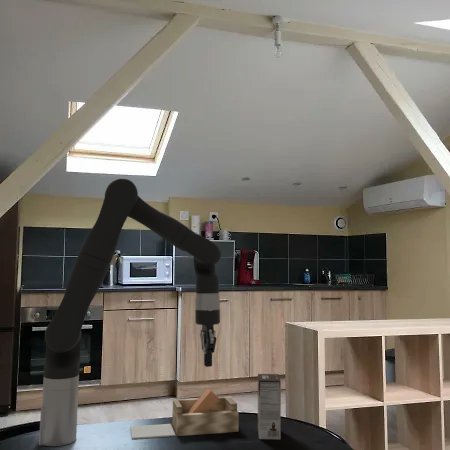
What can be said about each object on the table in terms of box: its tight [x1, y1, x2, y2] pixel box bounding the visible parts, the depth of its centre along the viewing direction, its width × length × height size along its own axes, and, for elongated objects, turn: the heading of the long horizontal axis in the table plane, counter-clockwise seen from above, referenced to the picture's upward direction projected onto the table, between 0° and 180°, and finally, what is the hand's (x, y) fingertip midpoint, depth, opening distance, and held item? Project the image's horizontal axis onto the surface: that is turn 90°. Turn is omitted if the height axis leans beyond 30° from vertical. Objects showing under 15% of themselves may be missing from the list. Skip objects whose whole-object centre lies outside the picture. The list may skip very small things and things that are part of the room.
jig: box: [171, 395, 240, 437], centre depth 139 cm, size 18×10×8 cm, turn 104°
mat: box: [129, 423, 176, 440], centre depth 135 cm, size 12×10×1 cm
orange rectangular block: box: [186, 387, 219, 414], centre depth 139 cm, size 12×4×4 cm
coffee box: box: [257, 373, 282, 440], centre depth 135 cm, size 9×6×16 cm
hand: (208, 366), depth 141 cm, fingers closed
